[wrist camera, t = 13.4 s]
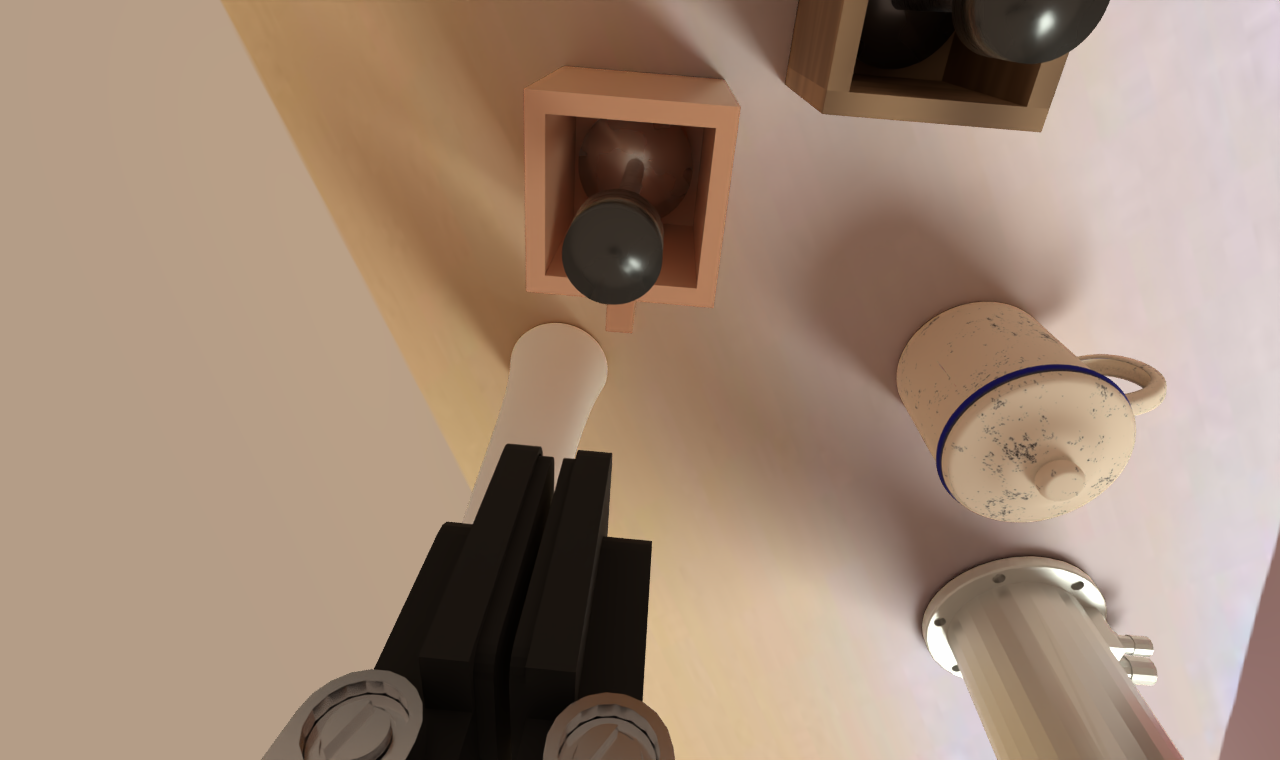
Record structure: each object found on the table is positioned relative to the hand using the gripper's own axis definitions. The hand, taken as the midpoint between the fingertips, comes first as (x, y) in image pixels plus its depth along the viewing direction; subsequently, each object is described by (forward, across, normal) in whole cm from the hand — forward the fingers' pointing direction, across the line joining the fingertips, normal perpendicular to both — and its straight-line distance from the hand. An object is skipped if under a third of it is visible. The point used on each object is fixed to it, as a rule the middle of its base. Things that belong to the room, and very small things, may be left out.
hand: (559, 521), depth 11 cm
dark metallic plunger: (+27, -11, -8) cm, 30 cm away
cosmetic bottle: (+28, +4, +13) cm, 31 cm away
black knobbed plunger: (+26, 0, 0) cm, 26 cm away
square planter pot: (+28, 0, 0) cm, 28 cm away
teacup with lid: (+29, -22, +10) cm, 37 cm away
